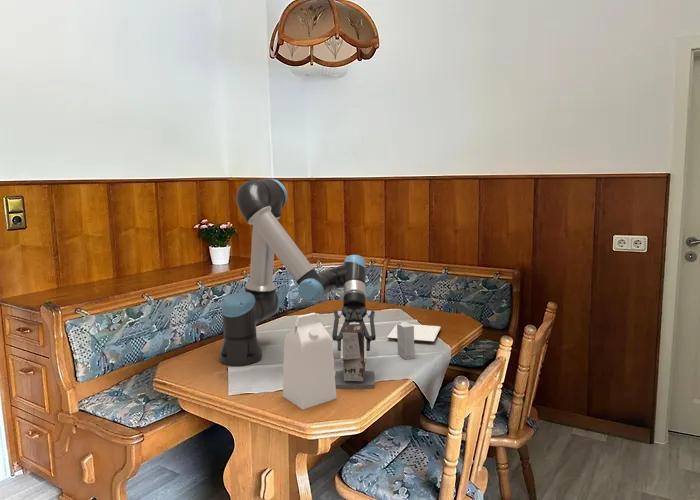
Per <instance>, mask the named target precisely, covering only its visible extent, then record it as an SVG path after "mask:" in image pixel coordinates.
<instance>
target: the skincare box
mask: <svg viewBox="0 0 700 500" xmlns="http://www.w3.org/2000/svg"><path fill="white" fill-rule="evenodd" d="M396 324H397V339H398V340H397V354H398V356H400V357H401V358H403V359H404V360H410V359H414V358H415V356H416V354H415V341H414V326H413V325H411V324H412V323H409V322H407V321H402V322H397V323H396Z"/></svg>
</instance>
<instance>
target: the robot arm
mask: <svg viewBox="0 0 700 500" xmlns="http://www.w3.org/2000/svg"><path fill="white" fill-rule="evenodd" d="M235 200H236V205H237V208H238V210H239V212H240V214H241V215H242V217H243V219H244V220H245V221H246V223H247V224H248V225H250V226H251V225H252V232H251V235H252V236H251V253H250V267H249V269H250V271H249V281H248V282H247V283H246V284H245V285H244V286H245V287H244V291H241V292H236V293H231V294H229V295H227V296H225V297H224V298H223V300H222V304H221V305H222V307H221V314H222V325H223V327H222V328H223V329H222V330H223V342H222V344H221V349H220V354H219V361H220V363H221V364H224V365H225V366H231V367H232V366H235V367H237V366H239V367H240V366H247V365H252V364H254V363H257V362H259V361H261V359H262V358H263V350H262V346H261V345H260V342H259V339H258V337H257V324H259V323H261V322H264V321H265V320H267V319H268V320H269V319H271V317H273V316H274V315H275V314H276V313H277V312H278V310H279V309H280V306H281V298H280V295H279V294H278V292H277V286H276V285H275V284H274V283H273V278H274V277H273V276H274V263H275V255H276V257H277V258H278V260H280V262H281V264H282V265H283V266H284V268H285V269H286V270H287V272H289V274H290V275H291V276H292V278H293V279H294V281H295V282H296V283H297V284H298V287H297V289H298V295H299V297H300V298H301V299H302V300H304V301H305V302H314V301H316V300H318V299H321V298H322V297H324V296H326V295H328V294H329V293H331V292H333V291H335V290H338V289H341V288H343V301H342V309H341V310H334V311H333V315H334V316H333V317H334V320H333V322H334V323H333V329H332V334H331V335H332V337H331V339H332V341H334V342H335V341H336V342H337V347H336V348H337V351H338V352H340V362H341V363H342V362H343V333H342V332H343V329H344V327H345V325H347V324H351V323H358V324H364V362H365V363H367V361H368V360H367V355H368V354H367V353H368V352H369V351H371V342H372V341H376V335H377V334H376V328H375V327H376V326H375V320H374V318H375V316H376V315H375V310H374V309H373V310H368V309H367V308H366V306H367V304H366V300H367V299H366V295H367V294H366V291H367V290H366V287H367V286H366V272H367V268H366V260H365V259H364V257H363V256H361V255H358V254H350V255H348V256H347V257H345V259H344V262H343V264H341V265H338V266H336V267H333V268H330V269H325V270H321V271H319V272H318V271H316V269H315V268H314V267H313V265H312V264H311V263H310V261H309V260H308V259H307V257H306V256H305V255H304V253H303V252H302V251H301V249H300V248H299V246H297V244H296V243H295V242H294V240H293V239H292V238H291V237H290V235H289V233H288V232H287V231H286V229H285V228H284V226H283V225H282V224H281V223H280V222H279V219H280V218H281V217H282V209H283V208H284V207H285V205H286V204H287V201H288V192H287V189H286V187H285V186H284V184H283V183H282V182H280V181H279V180H278V179H275V178H274V179H273V178H263V179H251V180H247V181H245V182H243V183H242V184H241V185H240V186H239V187H238V189H237V192H236V197H235ZM342 316H343V317H344V322H343V324H342V326H341V329H340V331H339V333H338V329H339V323H340V320H339V319H341V317H342ZM366 316H367V318H368V319H369V326H370V332H371V333H369V330H368V328H367V326H366V323H365V321H364V318H365V317H366Z"/></svg>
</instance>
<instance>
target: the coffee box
mask: <svg viewBox="0 0 700 500" xmlns="http://www.w3.org/2000/svg"><path fill="white" fill-rule="evenodd" d="M342 333H343V371H344V381H363V378H364V374H365V371H366V362H364V339H365V336H364V324H359V323H352V324H351V323H349V324H347V325H345V327H344V329H343V332H342Z"/></svg>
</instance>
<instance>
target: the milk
mask: <svg viewBox="0 0 700 500" xmlns="http://www.w3.org/2000/svg"><path fill="white" fill-rule="evenodd" d="M333 345H334V344H333V338H332V337H331V336H330V334H329V332H328V331H327V329H326V328H325V326H324V325H323V324H322V322H321V320H320V318H319V316H318V314H317V313H316V312H311V313H306V314H301V315H297V317H296V321H295V323H294V326H293V327H292V328H291V329H290V330H289V332H288V333H287V334H286V335H285V337H284V340H283V367H282V368H283V371H282V373H283V374H282V375H283V377H282V378H283V379H282V397H283V398H285V400H287V401H290V403H292V404H294V405H295V406H297V407H298V408H299V409H301V410H305V409H306V410H307V409H308V408H312V407H315V406H318V405H321V404H323V403H327V402H330V401H333V400H336V399H337V388H336V385H335V372H336V371H335V362H334V361H335V359H334V348H333V347H334V346H333Z"/></svg>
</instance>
